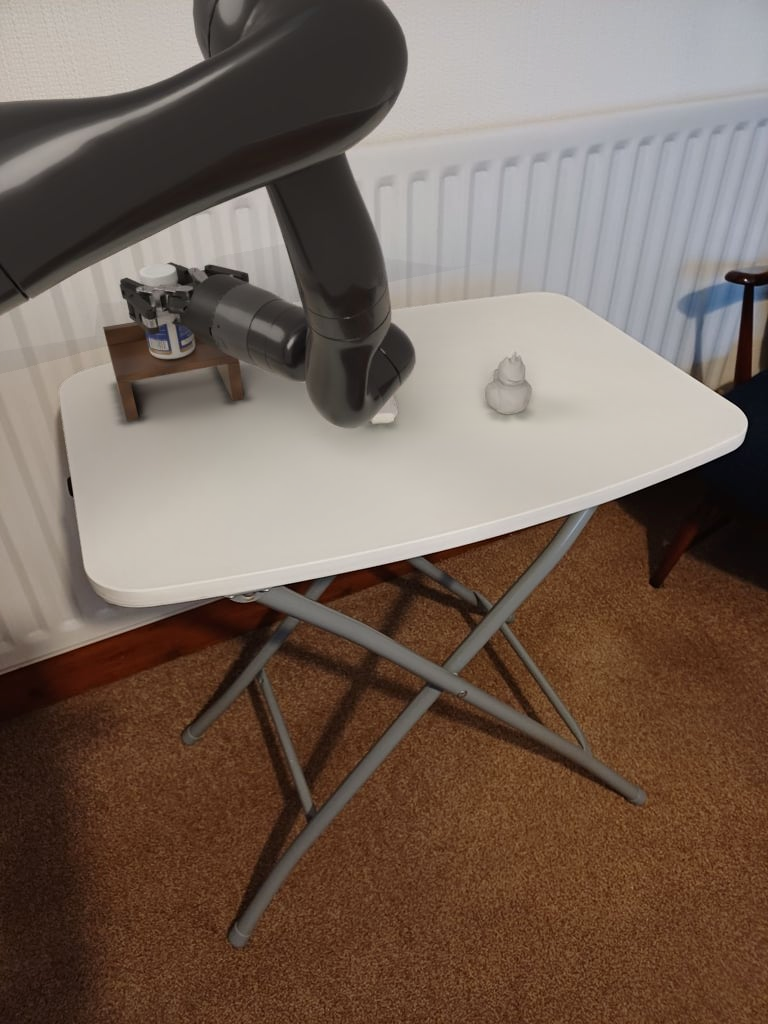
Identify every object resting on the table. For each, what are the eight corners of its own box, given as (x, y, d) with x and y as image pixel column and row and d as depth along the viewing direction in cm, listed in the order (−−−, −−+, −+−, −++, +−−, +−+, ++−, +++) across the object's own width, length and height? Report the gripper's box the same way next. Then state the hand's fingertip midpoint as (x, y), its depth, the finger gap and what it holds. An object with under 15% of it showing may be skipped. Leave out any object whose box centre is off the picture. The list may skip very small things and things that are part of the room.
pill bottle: (189, 336, 96) (175, 257, 90) (201, 354, 92) (187, 274, 86) (145, 345, 94) (128, 265, 88) (155, 364, 90) (138, 282, 84)
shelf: (126, 421, 92) (111, 360, 87) (117, 386, 98) (102, 326, 93) (244, 398, 96) (236, 338, 91) (227, 365, 102) (219, 308, 97)
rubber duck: (494, 425, 91) (500, 363, 86) (475, 397, 96) (479, 336, 91) (537, 418, 92) (546, 357, 87) (516, 391, 97) (523, 331, 92)
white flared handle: (358, 442, 88) (357, 412, 86) (351, 365, 102) (350, 337, 100) (407, 440, 88) (407, 410, 86) (393, 364, 102) (393, 336, 100)
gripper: (292, 265, 82) (192, 229, 91) (180, 309, 74) (82, 264, 83) (297, 331, 87) (201, 291, 96) (193, 380, 78) (98, 330, 87)
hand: (146, 279), depth 89 cm, fingers closed on pill bottle, 5 cm apart
